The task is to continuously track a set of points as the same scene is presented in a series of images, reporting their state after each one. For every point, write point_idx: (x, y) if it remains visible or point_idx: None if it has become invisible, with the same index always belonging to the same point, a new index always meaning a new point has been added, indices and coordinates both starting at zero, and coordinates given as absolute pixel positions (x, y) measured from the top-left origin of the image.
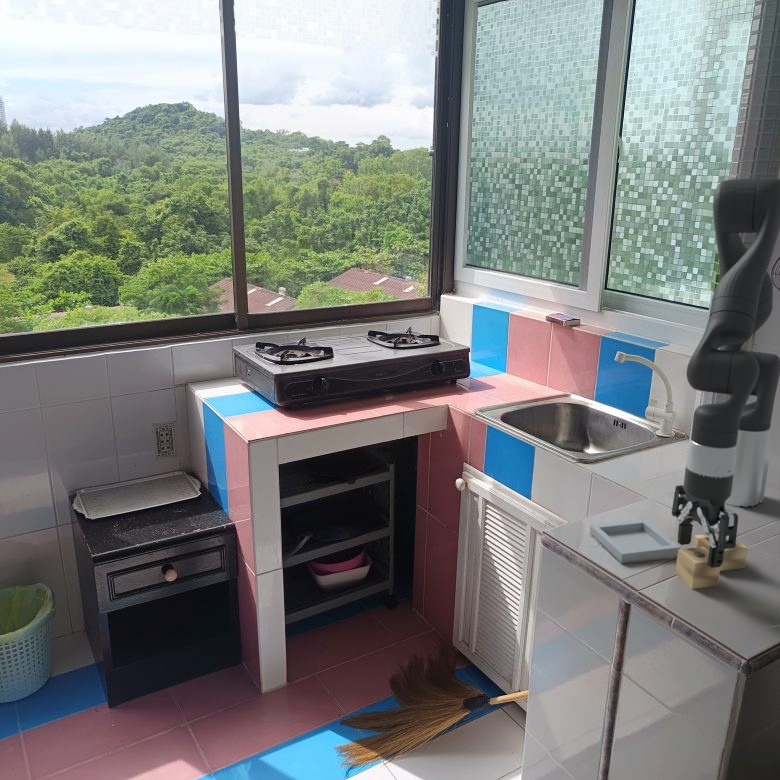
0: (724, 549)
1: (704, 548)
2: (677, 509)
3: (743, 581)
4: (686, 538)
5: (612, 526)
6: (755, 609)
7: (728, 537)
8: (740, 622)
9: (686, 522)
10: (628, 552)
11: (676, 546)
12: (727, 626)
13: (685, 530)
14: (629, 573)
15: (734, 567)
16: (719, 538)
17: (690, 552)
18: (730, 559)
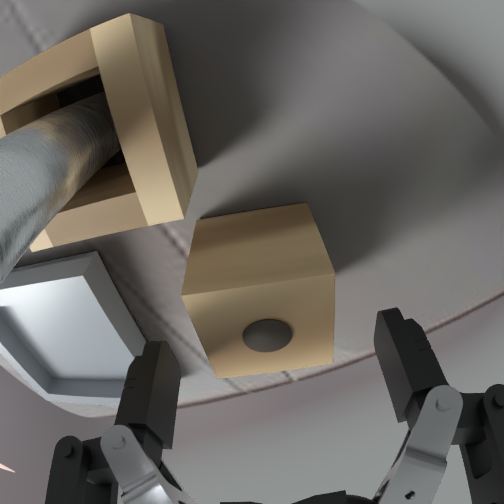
0: (447, 383)
1: (202, 299)
2: (114, 499)
3: (276, 78)
4: (167, 375)
5: (27, 371)
6: (451, 153)
7: (61, 130)
8: (477, 231)
9: (154, 452)
10: None
11: (81, 286)
12: (473, 266)
13: (165, 417)
14: (213, 377)
15: (172, 75)
16: (470, 463)
17: (243, 355)
18: (169, 108)
